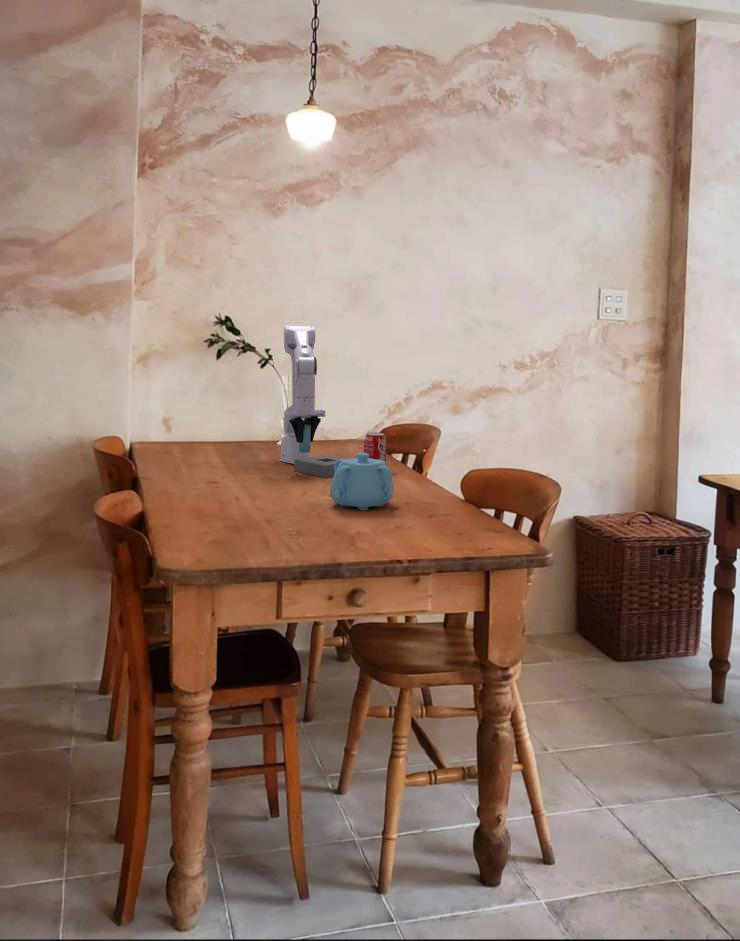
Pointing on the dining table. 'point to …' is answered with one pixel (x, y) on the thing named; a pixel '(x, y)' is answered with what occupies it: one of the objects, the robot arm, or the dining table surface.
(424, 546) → the dining table surface
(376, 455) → the soda can
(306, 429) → the peg
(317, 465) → the socket
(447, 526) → the dining table surface
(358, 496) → the decorative pot
